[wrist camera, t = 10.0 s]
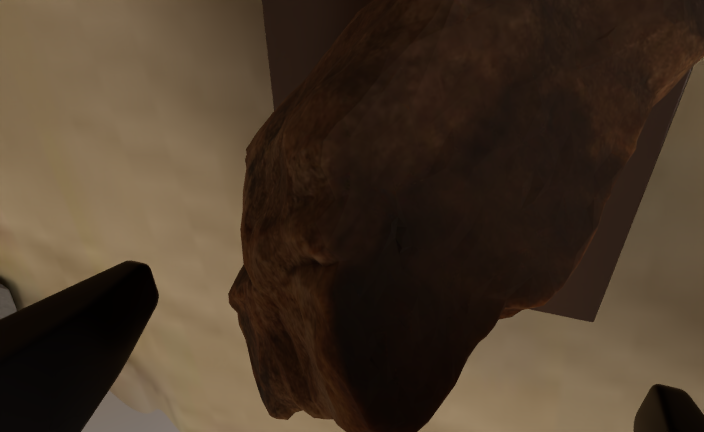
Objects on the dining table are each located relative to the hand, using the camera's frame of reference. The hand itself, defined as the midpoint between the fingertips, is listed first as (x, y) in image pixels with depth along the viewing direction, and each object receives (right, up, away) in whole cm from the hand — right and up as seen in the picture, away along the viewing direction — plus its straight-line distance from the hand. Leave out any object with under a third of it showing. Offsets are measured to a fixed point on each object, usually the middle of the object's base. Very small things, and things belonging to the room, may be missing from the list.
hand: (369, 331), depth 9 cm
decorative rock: (+3, +6, +6) cm, 9 cm away
